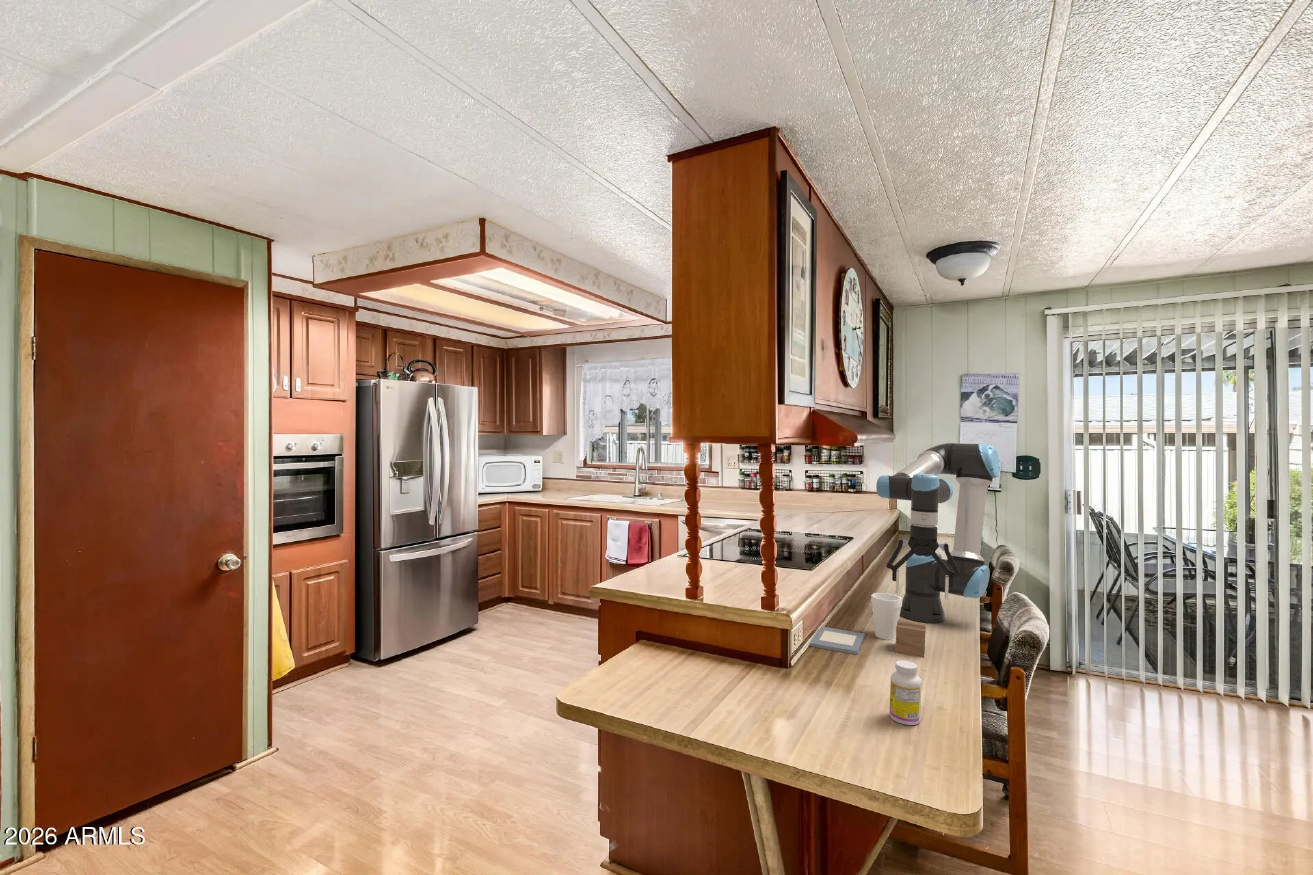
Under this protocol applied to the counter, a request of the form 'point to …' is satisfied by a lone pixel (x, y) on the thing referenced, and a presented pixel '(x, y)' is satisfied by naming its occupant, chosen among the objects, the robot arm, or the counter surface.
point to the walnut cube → (910, 638)
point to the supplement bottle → (905, 694)
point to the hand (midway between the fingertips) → (921, 595)
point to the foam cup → (885, 614)
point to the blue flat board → (838, 640)
